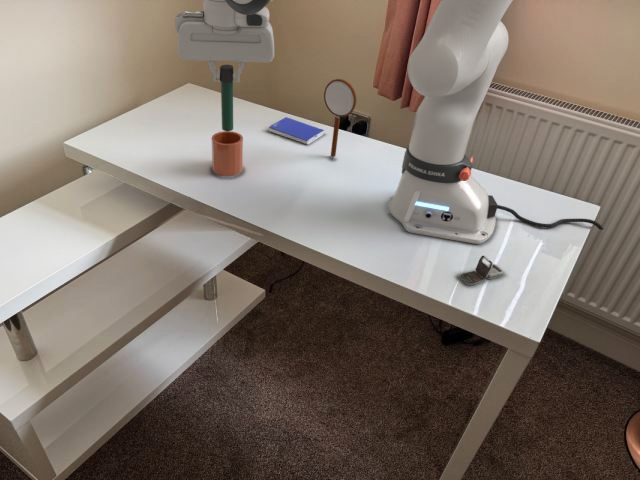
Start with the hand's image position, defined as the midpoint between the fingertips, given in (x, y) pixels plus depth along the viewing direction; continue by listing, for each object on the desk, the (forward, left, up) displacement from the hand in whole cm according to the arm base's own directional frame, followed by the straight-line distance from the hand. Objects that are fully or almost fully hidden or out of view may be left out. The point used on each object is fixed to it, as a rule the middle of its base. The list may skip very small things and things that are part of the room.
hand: (226, 80), depth 124 cm
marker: (0, 0, -11) cm, 11 cm away
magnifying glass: (-20, -18, -22) cm, 35 cm away
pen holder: (0, 0, -22) cm, 22 cm away
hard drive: (-6, -27, -22) cm, 35 cm away
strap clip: (-62, +12, -22) cm, 67 cm away
